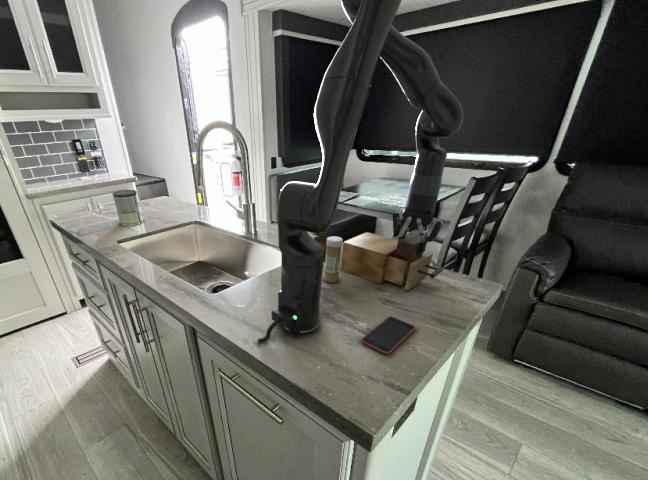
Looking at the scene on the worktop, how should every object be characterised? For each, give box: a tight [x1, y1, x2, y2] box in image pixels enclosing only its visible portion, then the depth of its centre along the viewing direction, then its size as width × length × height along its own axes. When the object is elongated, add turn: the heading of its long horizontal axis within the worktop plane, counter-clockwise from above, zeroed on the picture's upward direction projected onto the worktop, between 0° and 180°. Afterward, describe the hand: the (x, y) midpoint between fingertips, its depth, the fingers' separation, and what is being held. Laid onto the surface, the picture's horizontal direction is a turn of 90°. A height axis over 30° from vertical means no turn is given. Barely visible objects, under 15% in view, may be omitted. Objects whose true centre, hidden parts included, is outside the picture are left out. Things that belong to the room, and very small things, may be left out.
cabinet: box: [339, 231, 399, 285], centre depth 104 cm, size 15×14×10 cm
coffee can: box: [112, 189, 144, 227], centre depth 150 cm, size 10×10×14 cm
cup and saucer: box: [313, 235, 331, 260], centre depth 116 cm, size 12×12×6 cm
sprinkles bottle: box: [323, 236, 344, 283], centre depth 97 cm, size 5×5×14 cm
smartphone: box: [361, 316, 416, 355], centre depth 75 cm, size 7×1×14 cm
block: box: [395, 233, 421, 258], centre depth 93 cm, size 5×8×4 cm, turn 134°
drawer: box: [382, 251, 444, 291], centre depth 97 cm, size 18×12×8 cm
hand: (410, 250), depth 94 cm, fingers closed on block, 5 cm apart
